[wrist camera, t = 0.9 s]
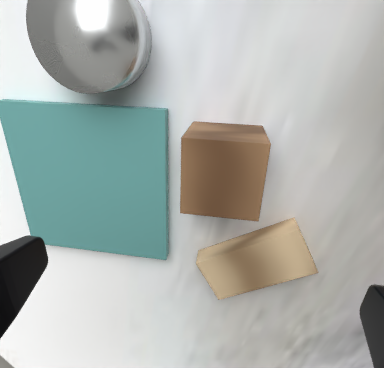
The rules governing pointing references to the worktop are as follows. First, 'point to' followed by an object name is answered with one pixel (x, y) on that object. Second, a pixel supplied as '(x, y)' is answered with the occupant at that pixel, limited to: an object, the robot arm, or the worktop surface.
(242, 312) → the worktop surface
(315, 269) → the beech slab
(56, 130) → the plate
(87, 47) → the metal tin
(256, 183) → the walnut block
